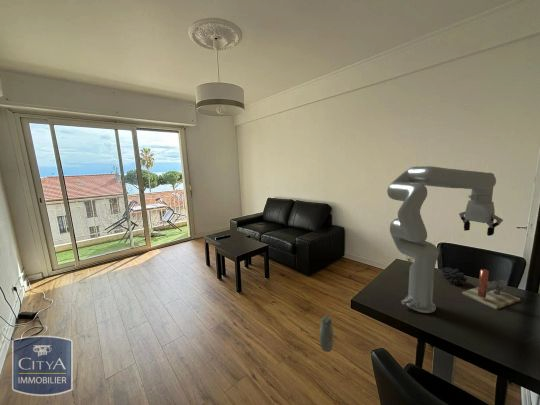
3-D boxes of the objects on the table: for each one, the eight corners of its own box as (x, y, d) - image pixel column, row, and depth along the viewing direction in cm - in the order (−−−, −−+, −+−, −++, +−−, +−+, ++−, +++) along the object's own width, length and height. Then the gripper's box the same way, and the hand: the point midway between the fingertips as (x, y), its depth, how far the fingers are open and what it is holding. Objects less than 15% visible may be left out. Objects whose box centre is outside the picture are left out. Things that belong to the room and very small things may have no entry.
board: (496, 309, 104) (497, 300, 103) (462, 293, 117) (462, 285, 116) (519, 300, 109) (521, 291, 108) (484, 286, 122) (485, 278, 122)
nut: (489, 290, 117) (490, 283, 116) (481, 286, 120) (481, 280, 120) (494, 288, 118) (494, 282, 117) (485, 285, 121) (486, 279, 121)
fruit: (435, 278, 137) (457, 289, 122) (432, 266, 136) (453, 275, 121) (448, 273, 137) (472, 284, 122) (445, 261, 137) (468, 270, 122)
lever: (485, 299, 107) (488, 272, 105) (474, 295, 111) (476, 269, 109) (509, 291, 113) (512, 265, 111) (498, 286, 117) (501, 262, 115)
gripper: (456, 197, 116) (453, 229, 119) (499, 201, 100) (495, 238, 103) (466, 196, 119) (463, 227, 121) (509, 199, 103) (505, 236, 105)
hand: (477, 232), depth 112 cm, fingers open, 9 cm apart
